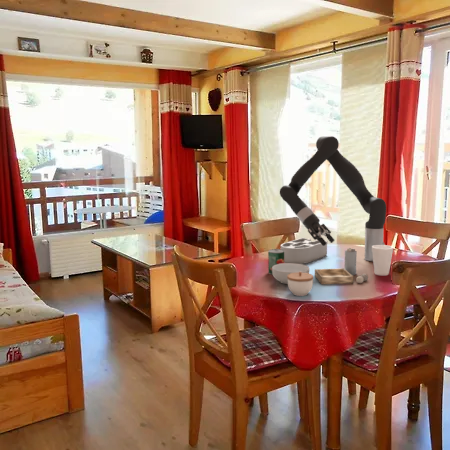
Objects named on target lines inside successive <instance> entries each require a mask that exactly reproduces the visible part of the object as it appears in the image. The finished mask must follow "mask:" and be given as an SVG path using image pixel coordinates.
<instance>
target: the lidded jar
mask: <svg viewBox="0 0 450 450" xmlns="http://www.w3.org/2000/svg"><path fill="white" fill-rule="evenodd" d="M287 278H288V284H287V286H288V289H289V291H290V292H291V293H292V294H293V295H294V296H298V297H303V296H304V297H305V296H307V295H308V294H309V293H310V292H311V291H312V289H313V285H314V275H313V274H311V273H310V272H309V273H302V272H297V273H291V274H288V275H287Z"/></svg>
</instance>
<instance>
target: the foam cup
mask: <svg viewBox="0 0 450 450" xmlns="http://www.w3.org/2000/svg"><path fill="white" fill-rule="evenodd" d="M372 254H373V261H372V262H373V263H372V265H373V271H374V274H375V275H376V276H388V275H389V274H390V268H391V262H392V257H393V254H394V246H392V245H389V244H388V245H386V244H384V245H374V246H372Z"/></svg>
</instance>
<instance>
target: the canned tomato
mask: <svg viewBox="0 0 450 450" xmlns="http://www.w3.org/2000/svg"><path fill="white" fill-rule="evenodd" d="M267 252H268V256H267V258H268V259H267V260H268V261H267V263H268V274H269V275H272V276H273V274H272V267H273V266H274V265H277V264H283V263H285V262H284V252H285V251H284V250H281V248H280V249H279V248H274V249H273V248H272V249H269V250H268V251H267Z"/></svg>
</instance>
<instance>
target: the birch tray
mask: <svg viewBox="0 0 450 450" xmlns="http://www.w3.org/2000/svg"><path fill="white" fill-rule="evenodd" d="M314 277H315V278H316V279H317V280H318V282H319V283H320V284H321V285H341V284H342V285H343V284H345V285H346V284H354V275H351V274H350V273H349V272H348V271H347V270H345V269H344V268H343V267H342V268H317V269H315V268H314Z"/></svg>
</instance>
